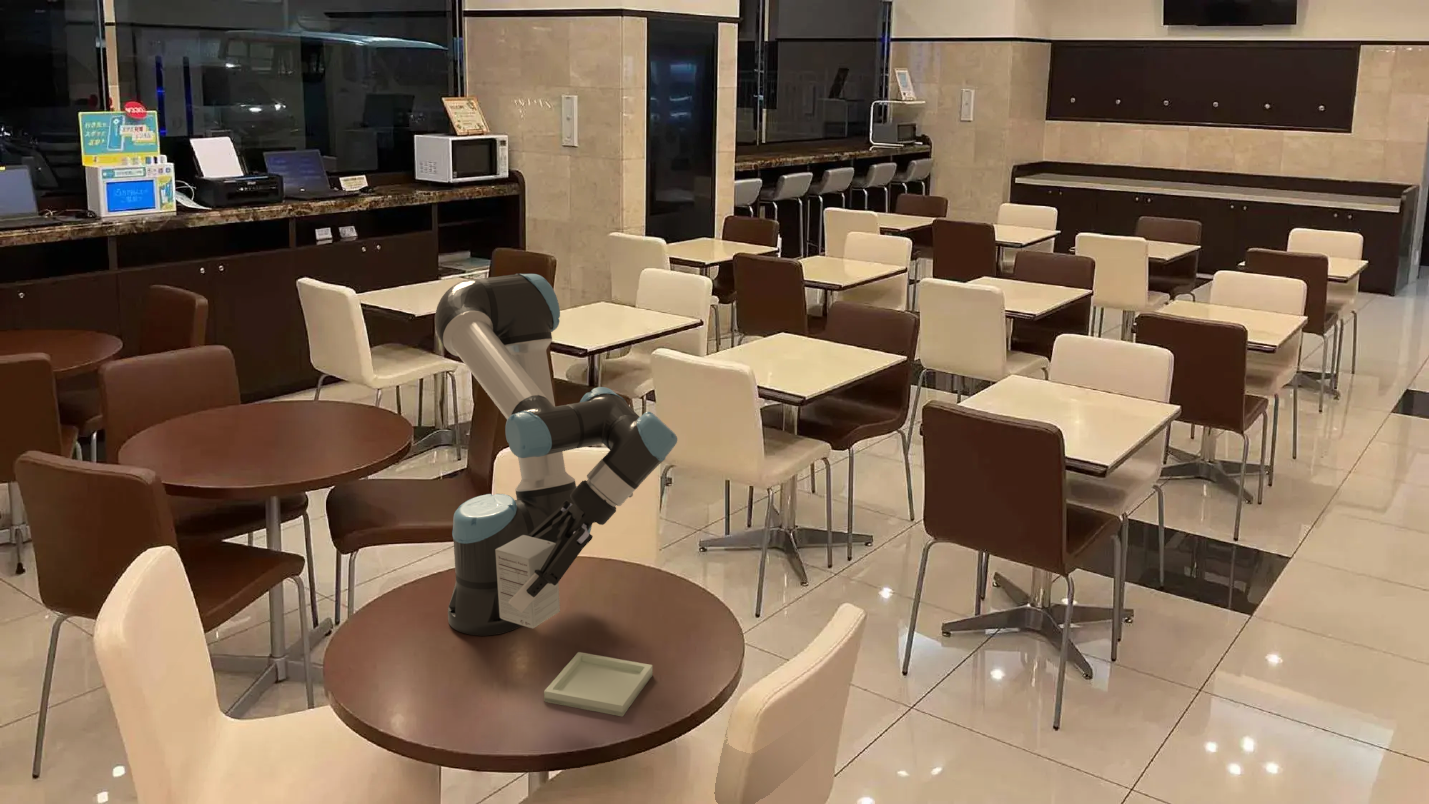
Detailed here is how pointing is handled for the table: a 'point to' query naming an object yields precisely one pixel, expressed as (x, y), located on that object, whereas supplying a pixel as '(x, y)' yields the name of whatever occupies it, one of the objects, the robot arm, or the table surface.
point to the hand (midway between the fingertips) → (510, 593)
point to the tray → (598, 684)
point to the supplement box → (525, 580)
